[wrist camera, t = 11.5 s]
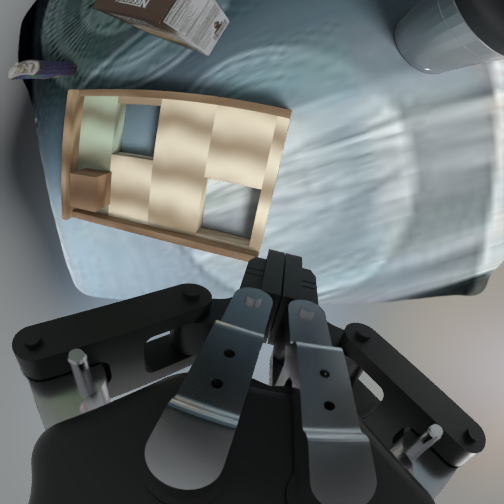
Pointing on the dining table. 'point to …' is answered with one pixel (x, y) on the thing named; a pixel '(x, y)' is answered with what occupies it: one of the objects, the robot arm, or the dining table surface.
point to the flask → (41, 69)
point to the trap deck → (174, 162)
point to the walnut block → (90, 189)
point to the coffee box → (172, 20)
